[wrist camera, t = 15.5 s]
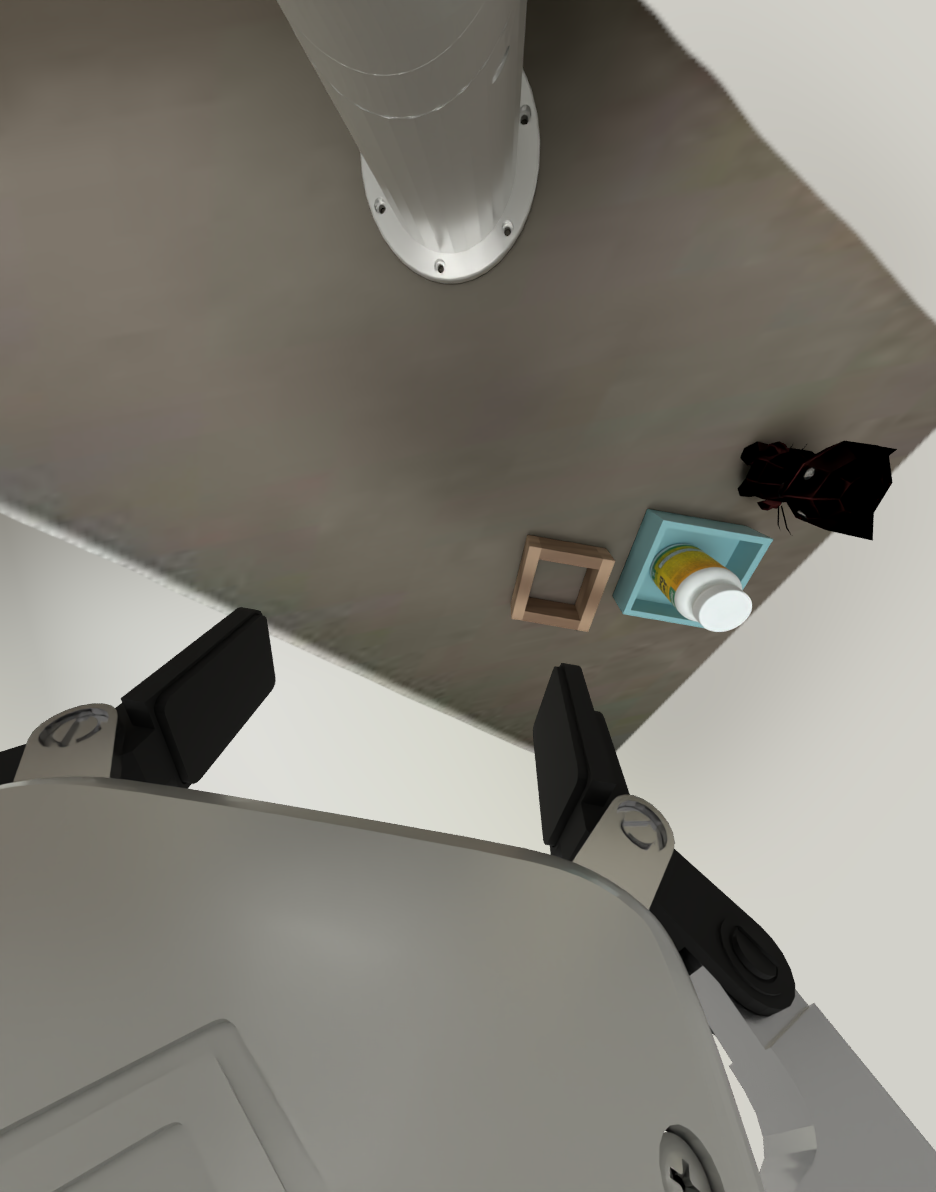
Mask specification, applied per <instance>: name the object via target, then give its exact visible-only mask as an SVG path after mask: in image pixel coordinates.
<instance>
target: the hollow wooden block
mask: <svg viewBox="0 0 936 1192" xmlns="http://www.w3.org/2000/svg"><path fill="white" fill-rule="evenodd" d="M539 559H540V560H546V561H551V562H557V563H563V564H569V565H574V566H580V567H586V568H587V571H586V574H585V577H584V580H583V583H582V586H581V589H580V591H579V594H578V597H577V600H576V603H575V605H572V604H566V603H560V602H554V601H549V600H543V599H537V598H531V597H529V593H530V590H531V586H532V582H533V578H534V575H535V571H536V567H537V564H538V560H539ZM614 563H615V560H614V559H613V557H612V556H611V555H610V553H609V552H608V550H607V549H606V548H601V547H595V546H589V545H583V544H578V543H572V542H566V541H560V540H555V539H549V538H543V537H537V536H532V535H527V538H526V543H525V547H524V551H523V555H522V559H521V563H520V567H519V571H518V575H517V579H516V583H515V588H514V592H513V596H512V600H511V618H512V619H517V620H523V621H529V622H534V623H540V624H546V625H552V626H557V627H563V628H569V629H575V630H580V631H586V632H588V631H589V628H590V625H591V623H592V620H593V618H594V615H595V612H596V610H597V607H598V605H599V602H600V599H601V597H602V594H603V592H604V589H605V586H606V584H607V581H608V579H609V576H610V573H611V571H612V568H613V566H614Z"/></svg>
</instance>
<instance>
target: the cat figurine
mask: <svg viewBox="0 0 936 1192" xmlns="http://www.w3.org/2000/svg"><path fill="white" fill-rule="evenodd" d="M792 445H793V444H792ZM806 445H807V444H806ZM791 447H792V446H791ZM803 449H804V448H803ZM803 449H802V450H800V449H794V448H787V446H786V444H784V443H781V442H775V443H771V444H769V445H768V444H765V443H762V442H758V441H757V442H755V443H753V444H751V445H750V446H748V447H746V448H744V450H743V453H742V455H741V457H740V458H741V459H742V460H743V461H744V462H745V464H746V465H752V466H751V468H750V471H749V473H748V475H747V477H746V479H745V480H744V481H743V483H742V484H741V485H740V487H739V488H738V491H739V494H740V496H745V497H752V496H756V497H759V498H761V499H765V501H761V502H757V503H758V505H759V506H760V508H761V509H762V510H770V509H772V508H776V509H777V508H778V526H779V506H780V505H781V503H782V502H783V503H784V502H787V504H788V506H789V507H790V509H791V511H792V513H793V514H794V516H795V518H798V519H800V520H803V521H805V522H808V523H810V524H813V525H815V526H817V527H820V528H822V529H825V530H828V531H833V532H838V533H842V534H846V535H851V536H855V537H859V538H864V539H868V540H873V517H874V515H873V514H874V511H875V510H876V508H877V507H878V505H879V503H880V502H881V500H882V499H883V497H884V495H885V494H886V492H887V490H888V489H889V487H890V486H891V484H892V476H891V468H890V461H889V455H890V454H892V453H893V452H894V451H896V450H897V449H893V448H887V447H880V446H878V445H871V444H864V443H857V442H850V441H843V442H840V443H838V444H835V445H833V446H830V447H828V448H826V449H824V450H822V451H820V452H819V453H817V454H814V453H813V452H812V451H807V450H803ZM781 509H782V513H783V517H784V521H785V525H786V529H787V530H788V528H787V524H786V520H785V516H784V512H783V508H782V506H781ZM779 528H780V527H779ZM788 531H789V530H788ZM789 533H790V532H789ZM790 534H791V533H790Z"/></svg>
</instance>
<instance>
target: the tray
mask: <svg viewBox="0 0 936 1192" xmlns="http://www.w3.org/2000/svg"><path fill="white" fill-rule="evenodd" d="M772 540H773V539H772V538H770V537H768V536H766V535H764V534H762V533H760V532H758V531H755V530H753V529H751V528H749V527H747V526H743V525H737V524H732V523H726V522H720V521H714V520H709V519H703V518H697V517H691V516H686V515H680V514H674V513H668V512H663V511H657V510H651V509H647V511H646V513H645V516H644V518H643V521H642V523H641V526H640V528H639V531H638V533H637V536H636V538H635V541H634V543H633V546H632V548H631V551H630V553H629V556H628V558H627V561H626V563H625V566H624V568H623V571H622V573H621V576H620V578H619V581H618V583H617V586H616V588H615V591H614V593H613V598H614V599H615V601H616V603H617V605H618V606H619V608H620V610H621V611H622V613H623V614H626V615H632V616H638V617H644V618H649V619H655V620H661V621H667V622H672V623H678V624H684V625H690V626H695V627H701V628H704V627H703V626H702V625H701V624H700V623H699V622H696V621H692V620H689V619H687V618H685V617H684V616H683V615H681V614H680V613H679V612H678V611H677V609H676V608H675V607H674V606H673V604H672V603H671V602H670V601H669V600H668V599H667V598H666V596H665V595H664V594H663V593H662V592H661V590H660V589H659V588H658V587H657V586H656V585H655V583H654V582H653V580H652V578H651V575H650V569H651V565H652V562H653V560H654V559H655V557H656V556H657V555H658V554H659V553H660V552H661V551H662V550H664V549H665V548H667V547H669V546H672V545H675V544H690V545H694V546H696V547H698V548H699V549H701V550H702V551H703V552H705V553H706V554H707V555H709V556H710V557H712V558H713V559H714V560H716V561H717V562H719V563H720V564H721V565H723V566H724V567H726V568H727V569H728V570H730V571H731V572H733V573H734V574H735V575H736V576H737V577H738V578H739V580H740V582H741V585H742V590H743V589H744V587H745V585H746V584H747V582H748V580H749V579H750V577H751V575H752V574H753V572H754V570H755V569H756V567H757V565H758V564H759V562H760V560H761V559H762V557H763V555H764V554H765V552H766V550H767V549H768V547H769V545H770V544H771V542H772Z"/></svg>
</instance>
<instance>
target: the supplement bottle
mask: <svg viewBox="0 0 936 1192" xmlns="http://www.w3.org/2000/svg"><path fill="white" fill-rule="evenodd" d="M650 575H651V578H652V580H653V582H654V583H655V585H656V586H657V587H658V588H659V589H660V590H661V592H662V593H663V594H664V595H665V596H666V598H667V599H668V600H669V601H670V602H671V603H672V604H673V606H674V607H675V608H676V609H677V611H678V612H679V613H680V614H681V615H683V616H684V617H685V618H687V619H689V620H692V621H696V622H699V623H700V624H701V625H702V626H703V627H704V628H706V629H708V630H710V631H714V632H723V631H728V630H731V629H733V628H736V627H737V626H739V625H741V624H742V623H743V622H744V621H745V620H746V619H747V618H748V616H749V615H750V613H751V610H752V602H751V599H750V597H749V596H748V595H747V594H746V593H745V592H743V591H742V585H741V582H740V580H739V578H738V577H737V576H736V575H735V574H734V573H733V572H731V571H730V570H728V569H727V568H726V567H724V566H723V565H721V564H720V563H719V562H717V561H716V560H714V559H713V558H712V557H710V556H709V555H707V554H706V553H705V552H703V551H702V550H701V549H699V548H698V547H696V546H694V545H690V544H675V545H672V546H669V547H667V548H665V549H664V550H662V551H661V552H660V553H659V554H658V555H657V556H656V557H655V559H654V560H653V562H652V565H651V569H650Z"/></svg>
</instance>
